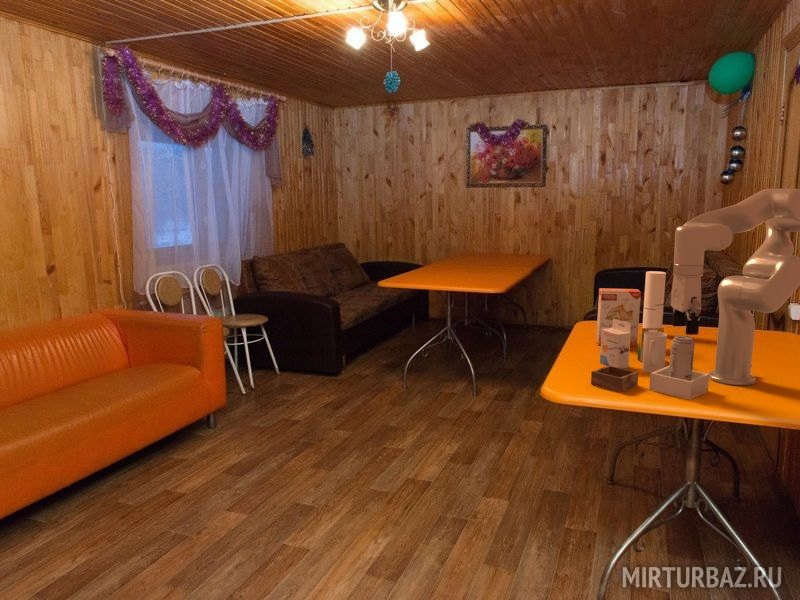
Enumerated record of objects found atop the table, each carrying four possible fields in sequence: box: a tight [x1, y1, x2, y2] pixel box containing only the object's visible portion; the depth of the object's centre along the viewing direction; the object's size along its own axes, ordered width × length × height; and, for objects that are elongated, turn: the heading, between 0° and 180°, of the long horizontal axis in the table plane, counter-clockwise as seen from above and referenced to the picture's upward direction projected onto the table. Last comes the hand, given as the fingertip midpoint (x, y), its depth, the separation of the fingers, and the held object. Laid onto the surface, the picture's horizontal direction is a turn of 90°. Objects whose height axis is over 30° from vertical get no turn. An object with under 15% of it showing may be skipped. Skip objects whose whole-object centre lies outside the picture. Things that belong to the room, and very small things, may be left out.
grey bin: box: [648, 365, 710, 401], centre depth 175 cm, size 12×12×5 cm
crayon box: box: [637, 327, 665, 363], centre depth 206 cm, size 7×3×12 cm, turn 89°
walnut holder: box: [590, 365, 639, 393], centre depth 181 cm, size 10×10×4 cm
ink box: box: [599, 319, 631, 369], centre depth 200 cm, size 8×5×15 cm, turn 25°
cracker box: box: [595, 287, 642, 347], centre depth 227 cm, size 14×6×21 cm, turn 81°
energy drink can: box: [668, 334, 696, 381], centre depth 174 cm, size 6×6×15 cm
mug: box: [642, 332, 668, 373], centre depth 193 cm, size 10×7×12 cm, turn 146°
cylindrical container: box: [641, 270, 667, 332], centre depth 242 cm, size 7×7×25 cm
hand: (685, 330), depth 173 cm, fingers open, 9 cm apart
